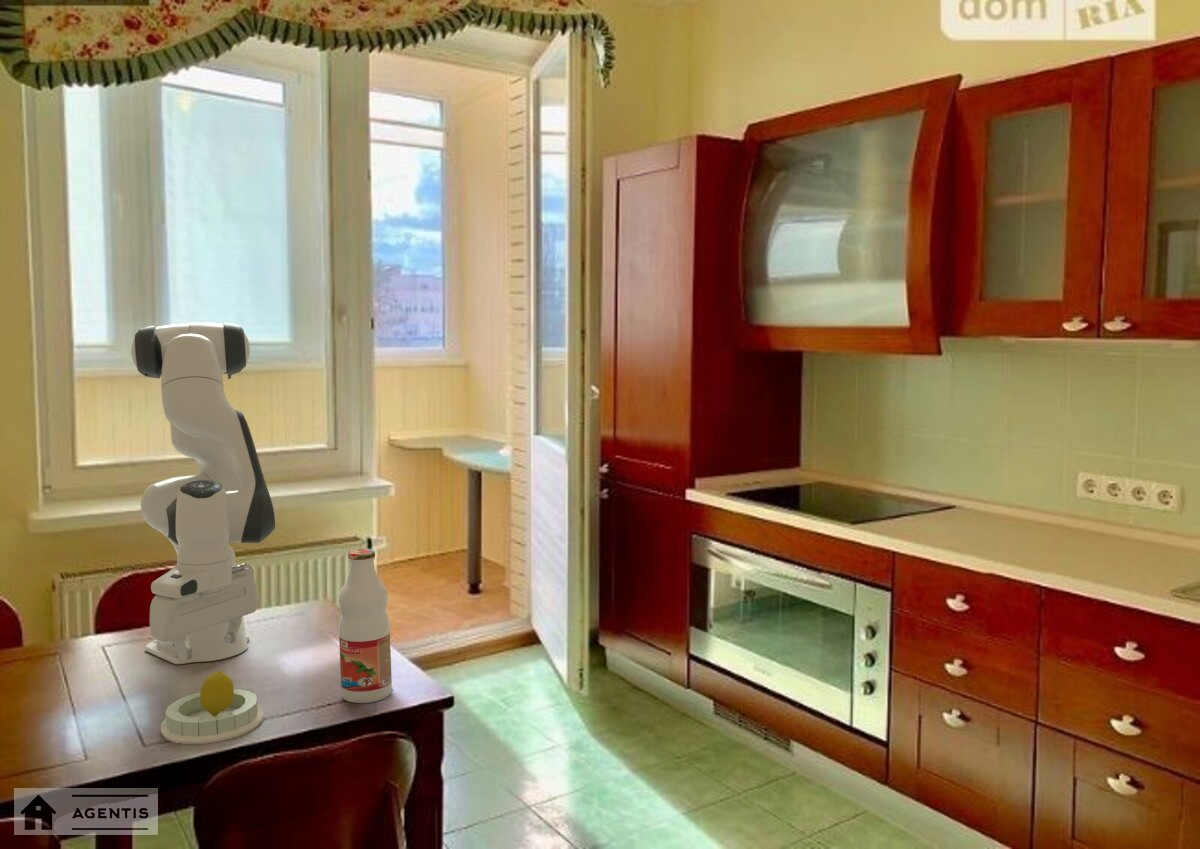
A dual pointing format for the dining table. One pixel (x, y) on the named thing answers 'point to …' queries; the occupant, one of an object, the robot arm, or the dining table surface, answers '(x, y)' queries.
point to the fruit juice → (364, 632)
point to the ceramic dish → (211, 719)
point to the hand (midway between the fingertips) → (208, 650)
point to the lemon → (216, 693)
